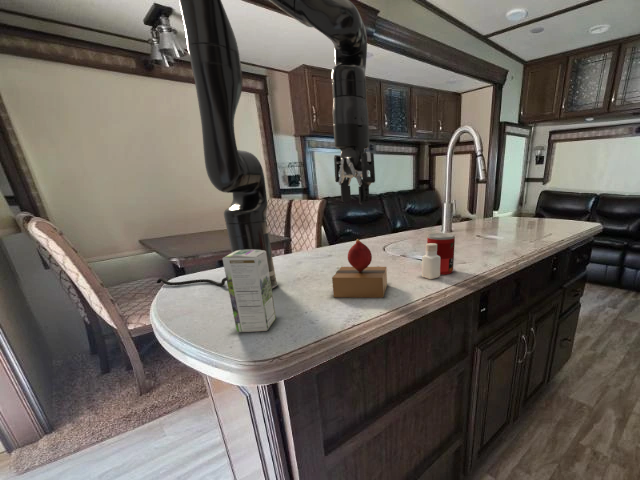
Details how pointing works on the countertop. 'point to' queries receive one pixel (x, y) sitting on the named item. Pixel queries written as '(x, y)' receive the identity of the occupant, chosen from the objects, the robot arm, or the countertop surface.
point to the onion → (359, 256)
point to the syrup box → (250, 290)
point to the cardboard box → (360, 282)
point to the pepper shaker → (431, 262)
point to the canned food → (444, 250)
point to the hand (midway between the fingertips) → (355, 202)
